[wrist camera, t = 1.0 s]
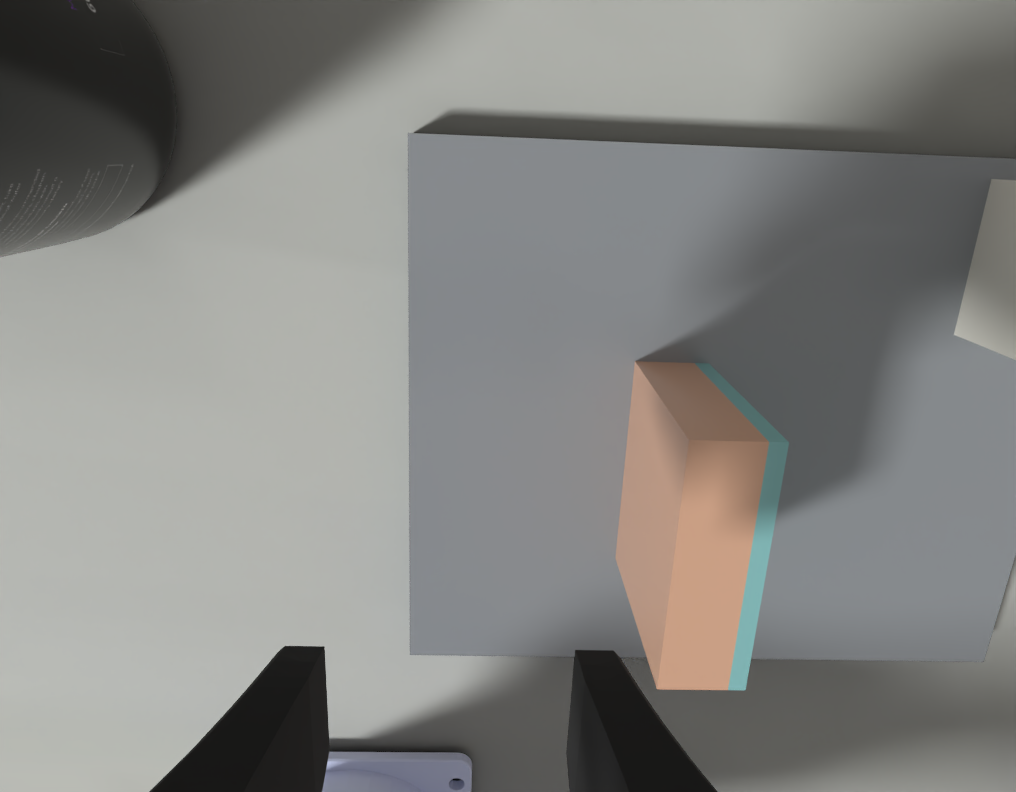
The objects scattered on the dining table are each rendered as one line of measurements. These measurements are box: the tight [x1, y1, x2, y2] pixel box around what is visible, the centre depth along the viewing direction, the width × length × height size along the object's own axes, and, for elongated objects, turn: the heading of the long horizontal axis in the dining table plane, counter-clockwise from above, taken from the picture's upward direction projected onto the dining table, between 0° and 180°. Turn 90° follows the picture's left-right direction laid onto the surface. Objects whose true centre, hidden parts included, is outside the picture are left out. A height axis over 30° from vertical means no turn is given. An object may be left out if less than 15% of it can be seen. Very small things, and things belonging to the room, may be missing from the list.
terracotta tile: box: [615, 361, 789, 690], centre depth 18 cm, size 6×2×6 cm, turn 178°
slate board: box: [408, 133, 1016, 662], centre depth 21 cm, size 15×18×1 cm
